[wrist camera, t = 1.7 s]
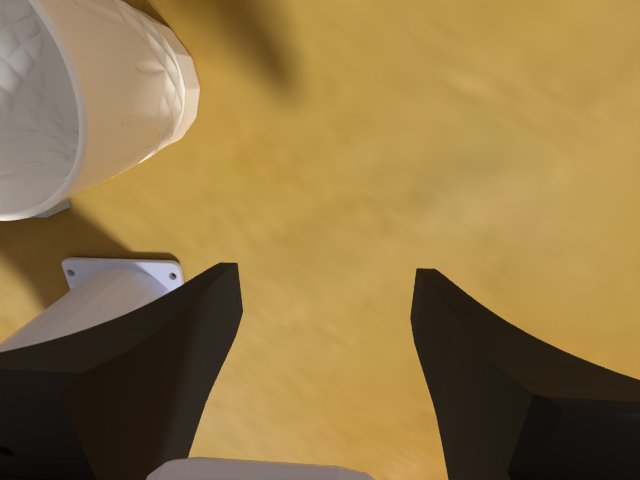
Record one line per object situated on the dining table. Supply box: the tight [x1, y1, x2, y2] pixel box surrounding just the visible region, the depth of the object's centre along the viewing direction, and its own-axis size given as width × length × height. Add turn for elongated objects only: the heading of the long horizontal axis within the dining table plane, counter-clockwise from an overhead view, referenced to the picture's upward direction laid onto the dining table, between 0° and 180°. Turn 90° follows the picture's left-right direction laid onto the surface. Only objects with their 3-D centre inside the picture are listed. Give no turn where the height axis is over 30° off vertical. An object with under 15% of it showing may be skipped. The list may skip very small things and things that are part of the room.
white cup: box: [0, 0, 200, 221], centre depth 14 cm, size 8×8×10 cm
